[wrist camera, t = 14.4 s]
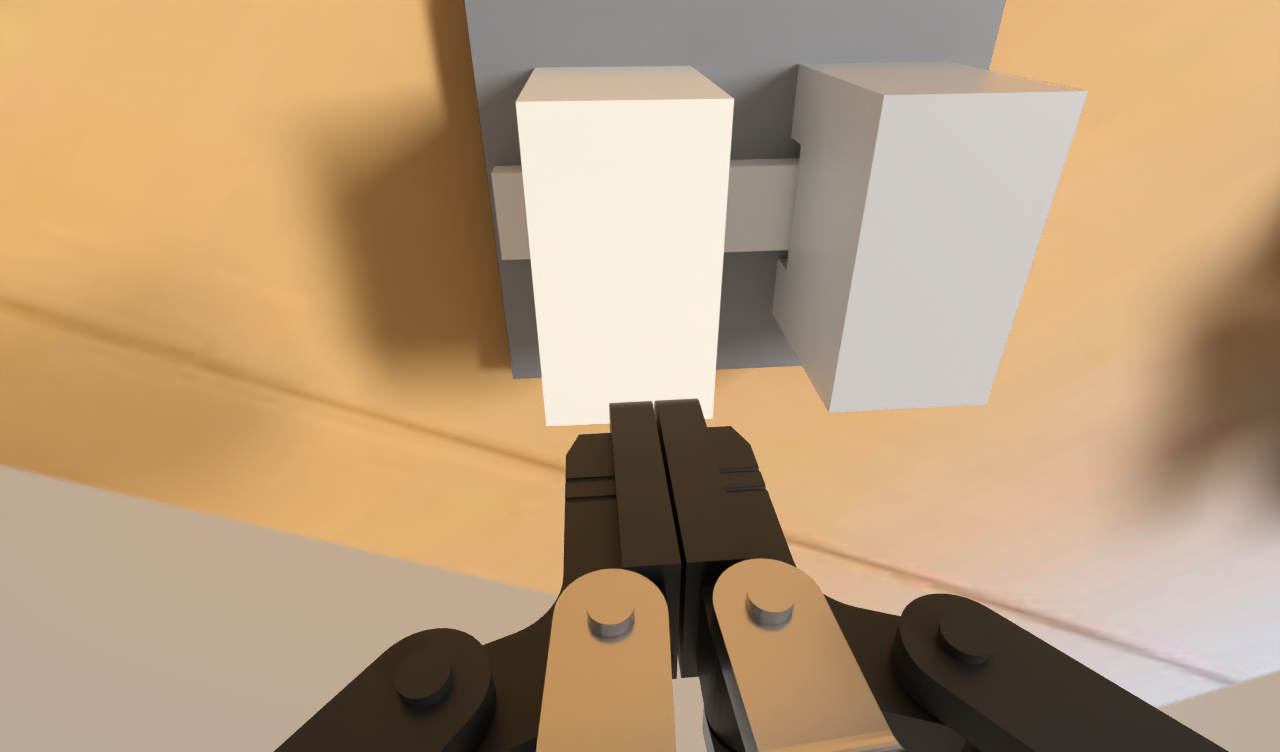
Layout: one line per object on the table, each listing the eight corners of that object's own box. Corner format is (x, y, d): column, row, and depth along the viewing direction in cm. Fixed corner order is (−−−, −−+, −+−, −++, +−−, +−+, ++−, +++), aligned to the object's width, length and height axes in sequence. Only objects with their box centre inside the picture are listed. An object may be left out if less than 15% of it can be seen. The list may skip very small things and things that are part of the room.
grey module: (771, 315, 26) (828, 415, 20) (798, 63, 21) (884, 95, 15) (893, 310, 26) (985, 407, 20) (947, 60, 21) (1088, 91, 15)
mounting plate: (516, 360, 28) (503, 437, 23) (468, -23, 20) (434, -26, 16) (902, 343, 29) (964, 413, 24) (987, -28, 21) (1100, -31, 17)
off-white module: (555, 323, 25) (546, 428, 19) (535, 67, 21) (515, 101, 15) (682, 319, 26) (712, 421, 20) (690, 65, 21) (734, 98, 15)
